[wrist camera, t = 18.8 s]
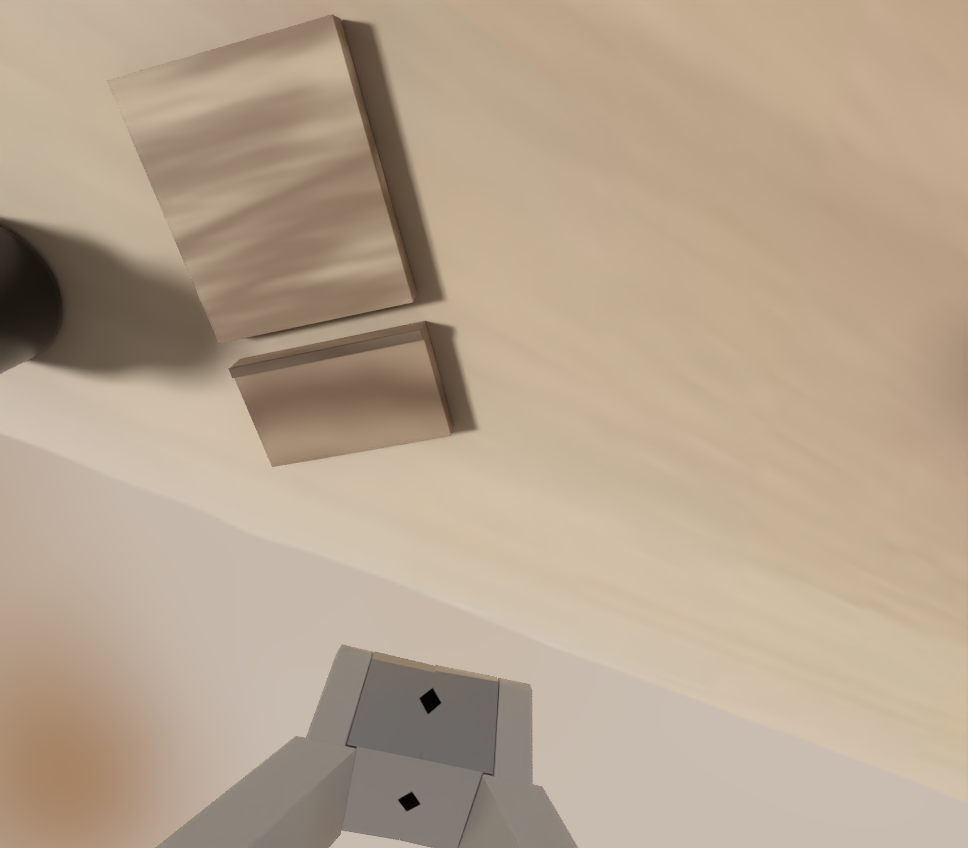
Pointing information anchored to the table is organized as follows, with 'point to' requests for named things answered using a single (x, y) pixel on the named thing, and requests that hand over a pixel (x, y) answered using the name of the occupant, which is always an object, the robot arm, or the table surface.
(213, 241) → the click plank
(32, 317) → the ink bottle
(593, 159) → the table surface
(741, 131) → the table surface
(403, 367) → the laid plank
